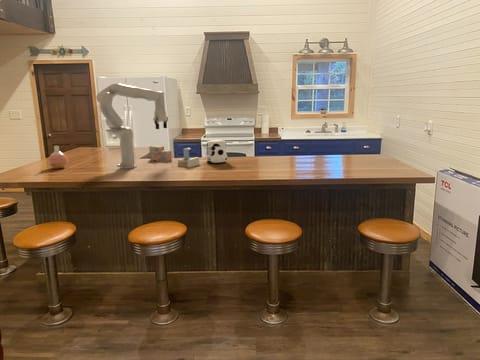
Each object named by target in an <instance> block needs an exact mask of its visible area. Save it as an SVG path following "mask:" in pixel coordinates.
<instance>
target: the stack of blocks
mask: <svg viewBox="0 0 480 360" xmlns="http://www.w3.org/2000/svg"><path fill="white" fill-rule="evenodd" d="M148 149H149V161H153V160H156V161H155V162H161V161H163V163H164V162H172V160H173V159H172V157H173V156H172V155H173V154H172V153H173V152H172V150H167V149H165V146H163V145H150V146H148Z"/></svg>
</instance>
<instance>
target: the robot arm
mask: <svg viewBox="0 0 480 360" xmlns="http://www.w3.org/2000/svg"><path fill="white" fill-rule="evenodd" d="M116 96H120V97H124V98H125V97H126V98H131V99H143V100H145V101H149V102H154V113H153V114H154V115H153V119H152V121H153V122H154V126H155V129H156V130H160V122H162V124H163V125H162V126H163V128H164V129H167V128H168V122H169V117H167V111H166V103H165V92H164V91H162V90H161V91H160V90H157V91H156V90H152V89H148V88H141V87H138V86H132V85H127V84H122V83H118V82H117V83H111V84H110V85H108V86H107V87H105V88H104V89H102V90H101V91H99V92H97V94H96V99H95V100H96V101H97V102H98V103H99V108H100V112H101V114H102V115H103V117H104V118H105V125H106V126H107V127H108V128H109V130H110V131H111V132H112V133H113V134H114V135H115V136H116V137H117V138H119V148H120V159H121V162H120V163H118V164H117V165H116V166H117V168H120V169H124V170H125V169H128V170H129V169H135V168H137V167H138V165H137V164H135V155H134V154H135V153H134V152H135V151H134V144H133V143H134V132H133V130H132V128H131V127H130V126H129V127H128V126H124V125H123V124H124V121H123V119H122V118H121V116H120V115H119V114H118V113H117V112H116V110H115V109H114V107H113V100H114V99H113V98H115V97H116Z"/></svg>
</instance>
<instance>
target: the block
mask: <svg viewBox="0 0 480 360" xmlns="http://www.w3.org/2000/svg"><path fill="white" fill-rule="evenodd" d="M189 159H192V158H190V157H189ZM177 166H179V167H187V168H189V167H188V161H187V160H184V157H183V158H180V159H177Z"/></svg>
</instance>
